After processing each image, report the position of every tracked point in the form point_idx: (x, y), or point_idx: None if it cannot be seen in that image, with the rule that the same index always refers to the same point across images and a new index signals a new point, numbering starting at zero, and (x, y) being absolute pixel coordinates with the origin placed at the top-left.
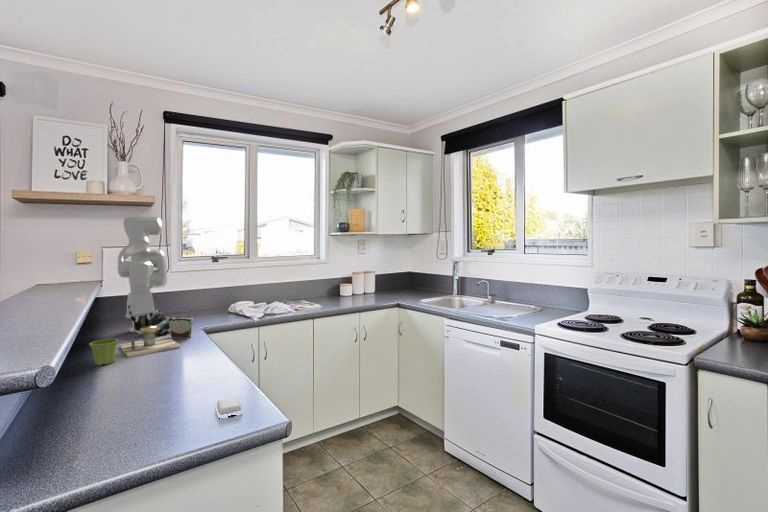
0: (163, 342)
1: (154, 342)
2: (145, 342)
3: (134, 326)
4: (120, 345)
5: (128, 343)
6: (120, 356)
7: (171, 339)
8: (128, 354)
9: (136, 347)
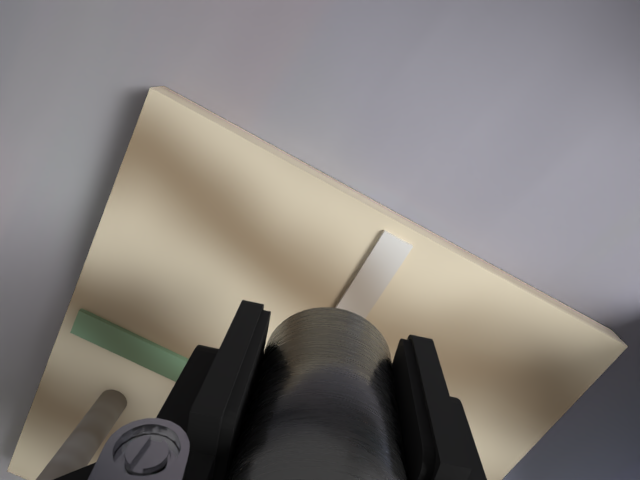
0: None
1: None
2: None
3: (187, 372)
4: (133, 138)
5: (233, 148)
6: (3, 385)
7: (519, 453)
8: (15, 472)
9: (167, 374)
